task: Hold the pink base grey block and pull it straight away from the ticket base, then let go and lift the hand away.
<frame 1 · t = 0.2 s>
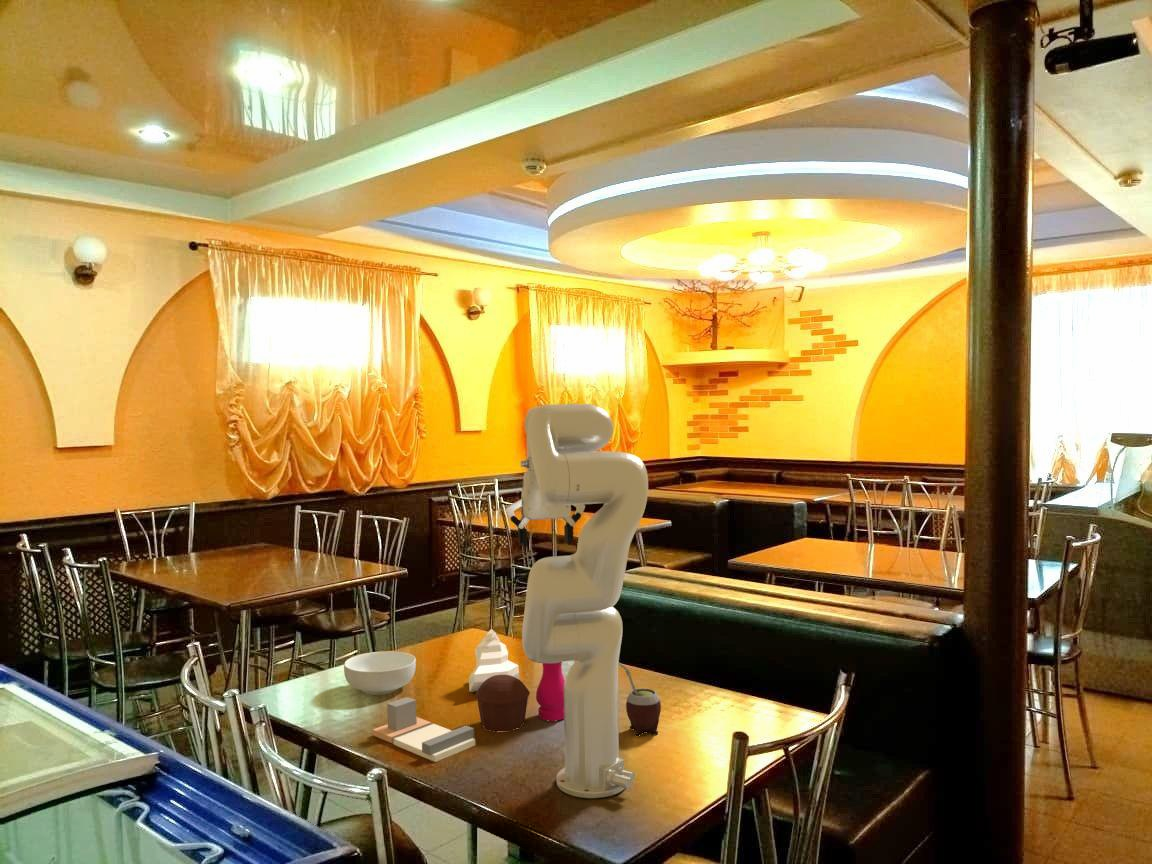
hand: (546, 545, 174), 37 cm above the table, tool pointing down, fingers open, 9 cm apart
mate gourd: (641, 733, 166), on the table
pink base grey block: (402, 716, 168), point 3 cm above the table, slide at 0.0 cm
ticket base: (433, 744, 161), on the table
soft serve ice cream: (490, 687, 195), on the table
pepper mill: (553, 717, 175), on the table
cereal bowl: (380, 690, 194), on the table
muffin: (503, 725, 171), on the table
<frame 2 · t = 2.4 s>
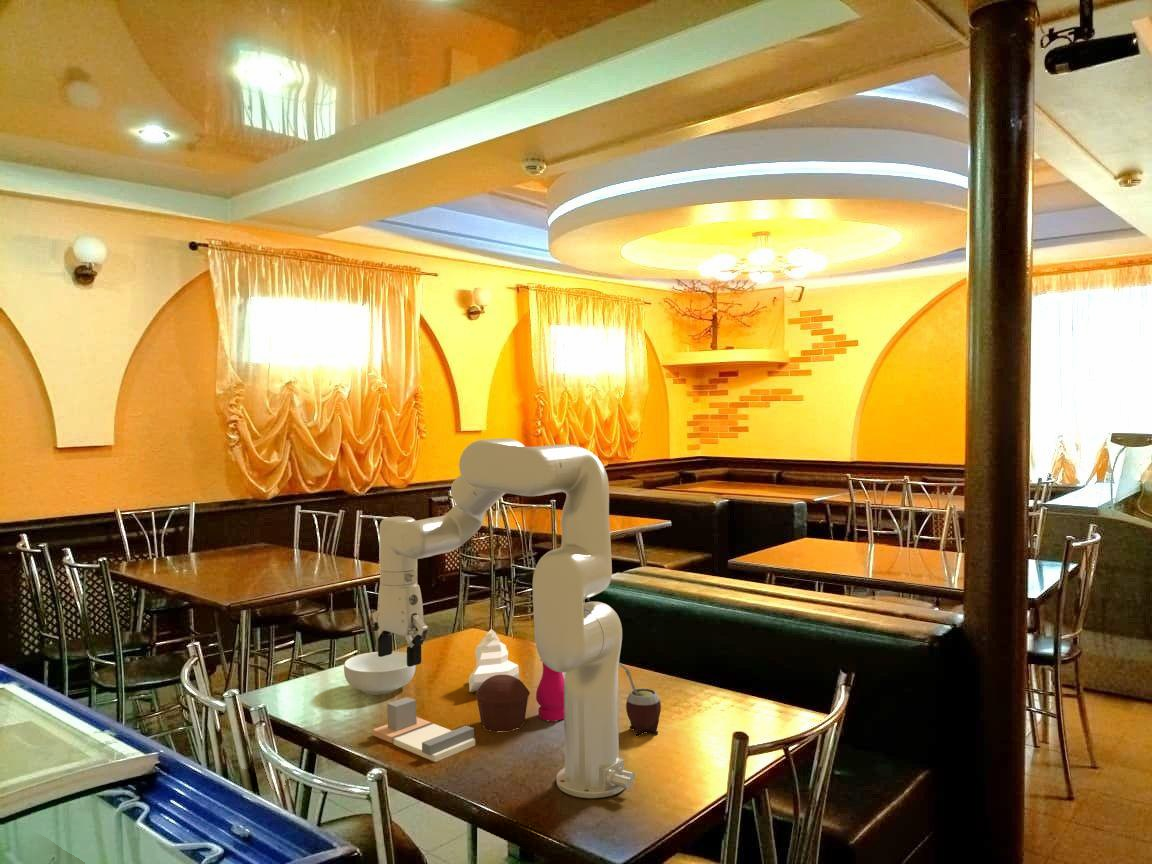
hand: (399, 660, 168), 15 cm above the table, tool pointing down, fingers open, 9 cm apart
nothing on the table moved.
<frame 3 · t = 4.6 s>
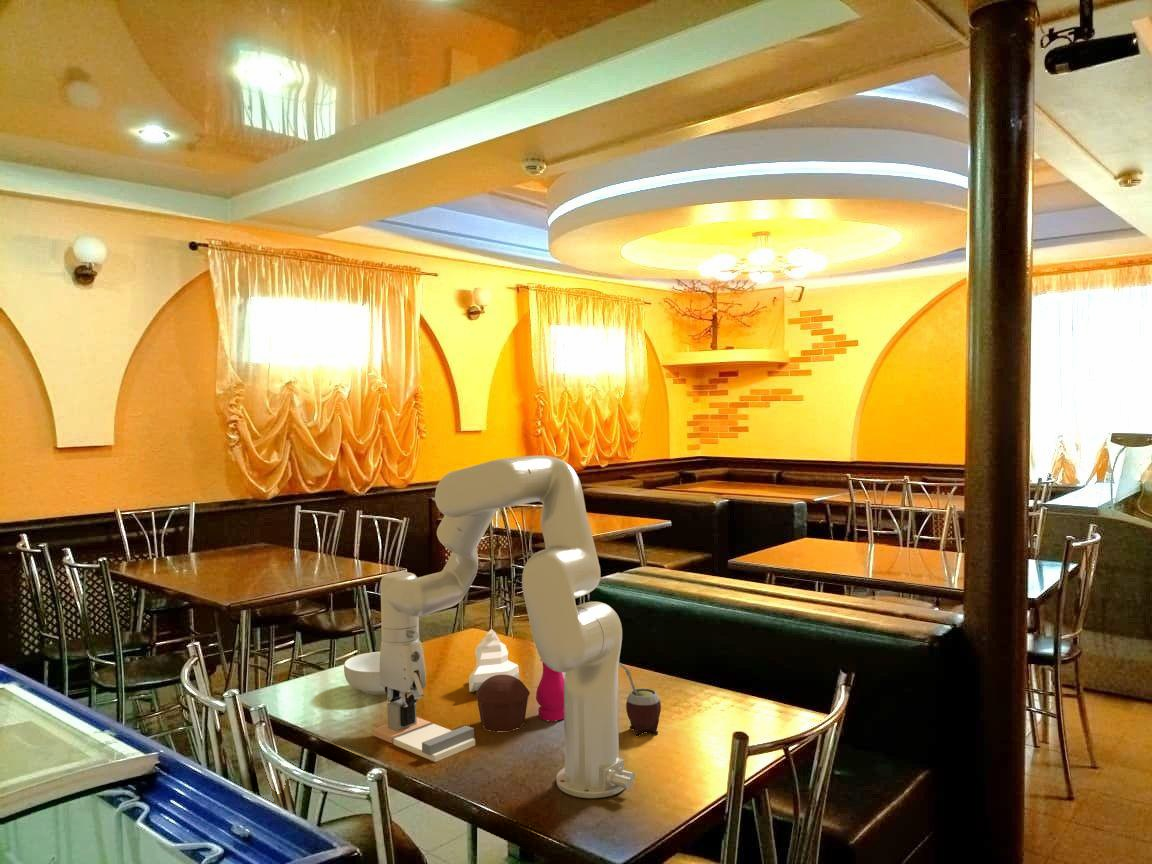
hand: (402, 721, 168), 2 cm above the table, tool pointing down, fingers closed on pink base grey block, 3 cm apart
pink base grey block: (402, 716, 168), point 3 cm above the table, slide at 0.0 cm, touching gripper
everything else where it was.
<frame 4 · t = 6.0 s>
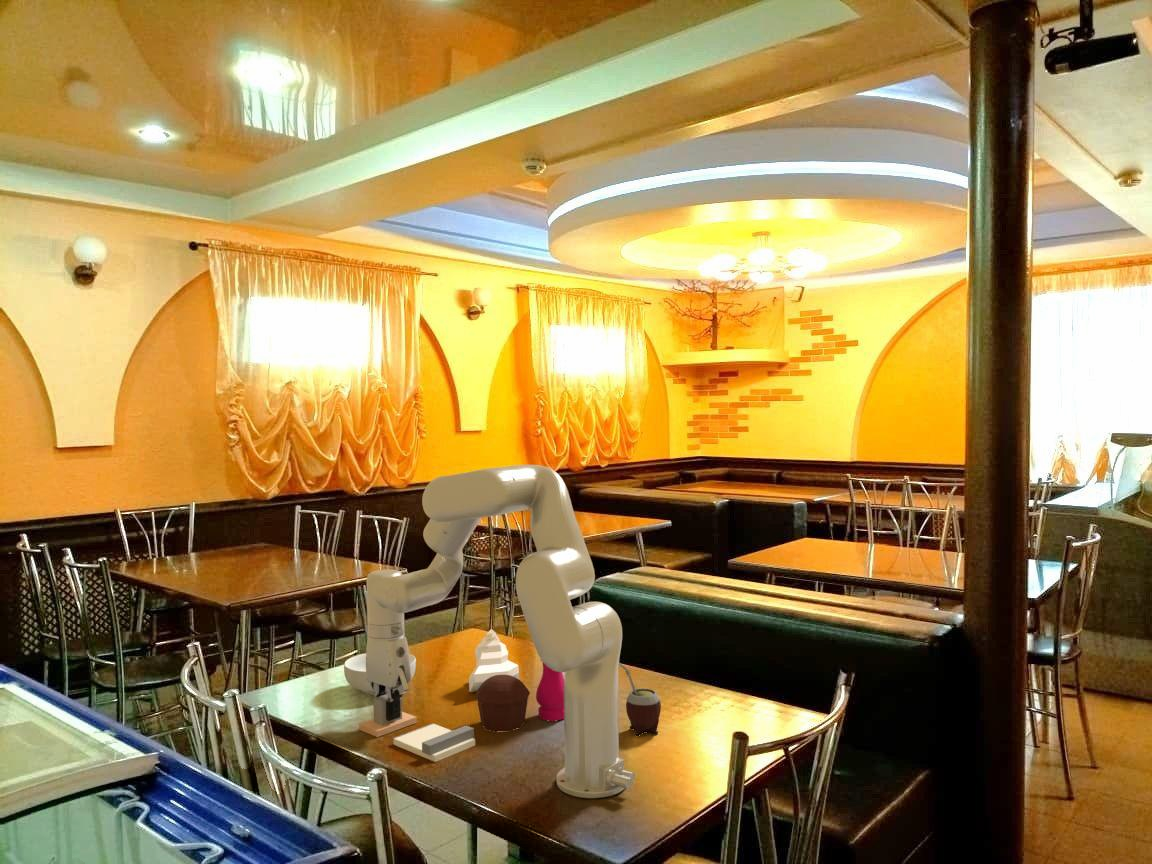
hand: (388, 716, 171), 2 cm above the table, tool pointing down, fingers closed on pink base grey block, 3 cm apart
pink base grey block: (387, 711, 171), point 3 cm above the table, slide at 4.9 cm, touching gripper
everything else where it was.
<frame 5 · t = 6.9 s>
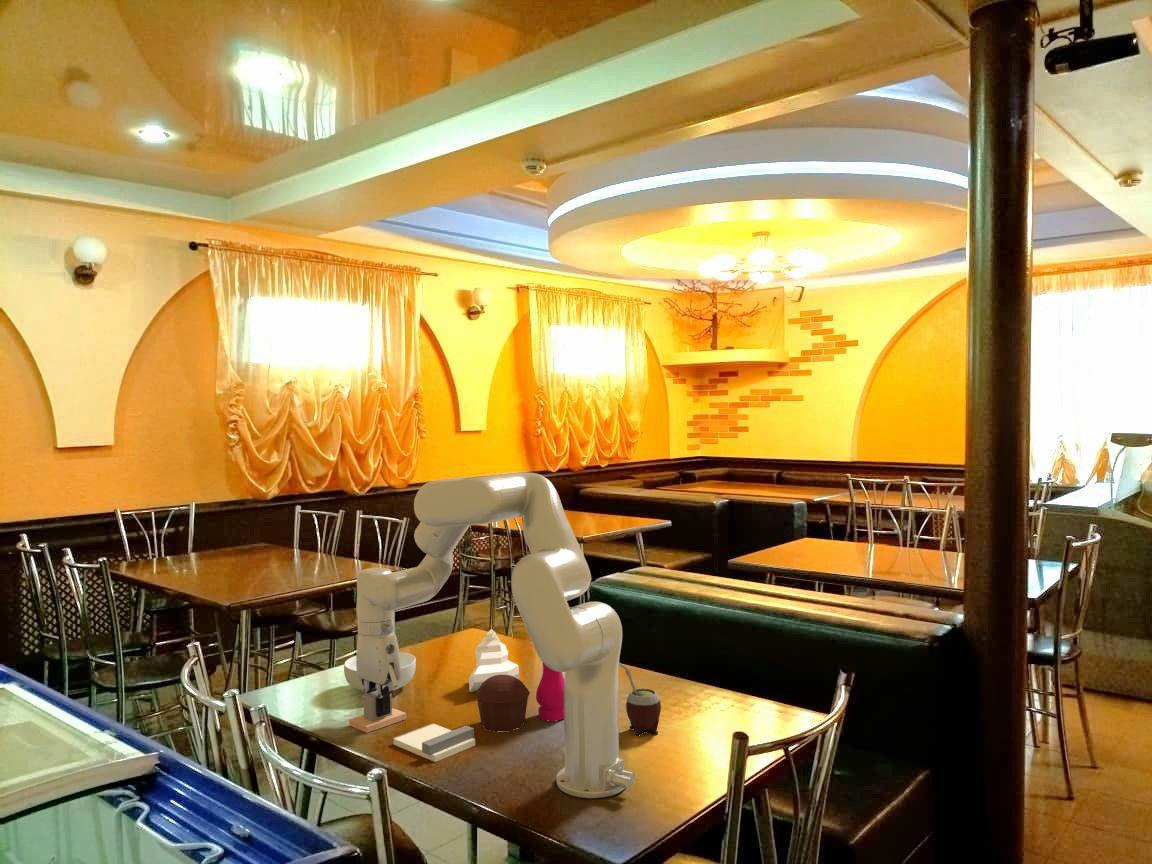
hand: (378, 712, 173), 2 cm above the table, tool pointing down, fingers closed on pink base grey block, 3 cm apart
pink base grey block: (377, 707, 173), point 3 cm above the table, slide at 8.4 cm, touching gripper
everything else where it was.
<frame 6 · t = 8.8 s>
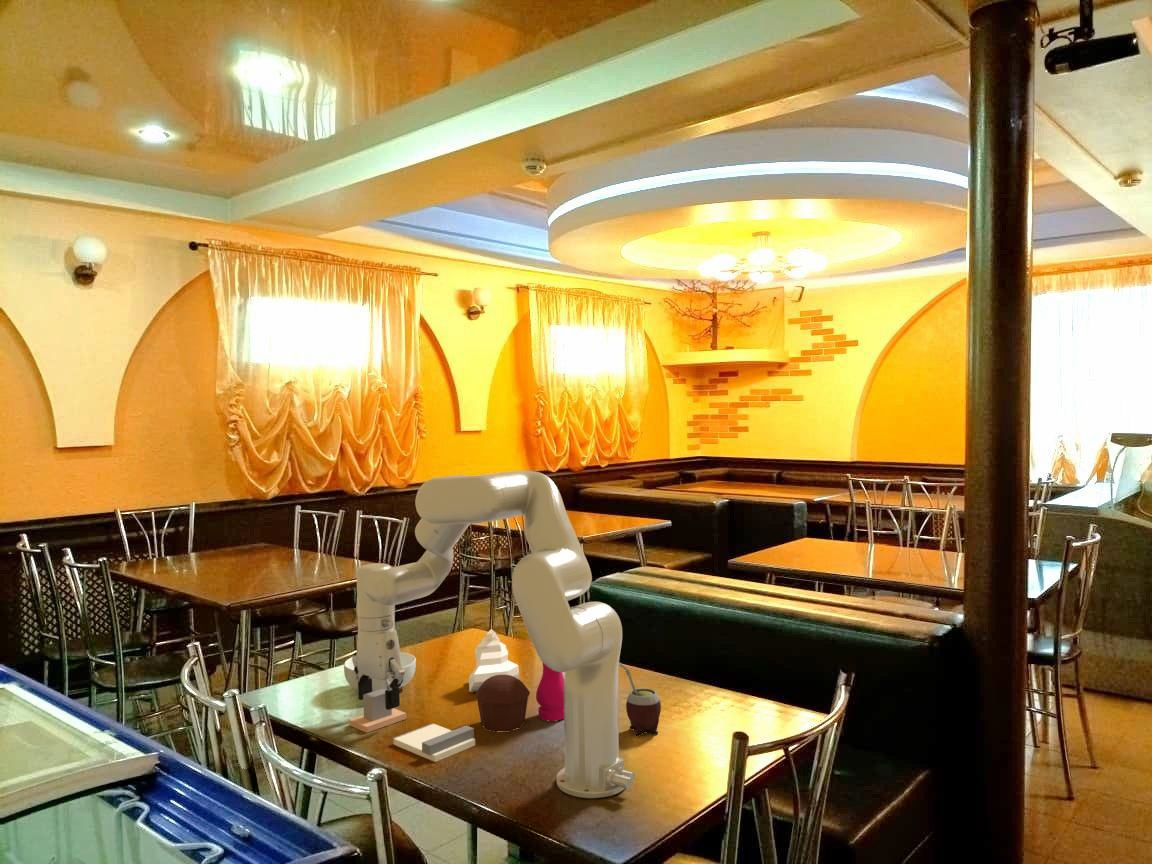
hand: (378, 703, 173), 4 cm above the table, tool pointing down, fingers open, 9 cm apart
pink base grey block: (377, 707, 173), point 3 cm above the table, slide at 8.5 cm
everything else where it was.
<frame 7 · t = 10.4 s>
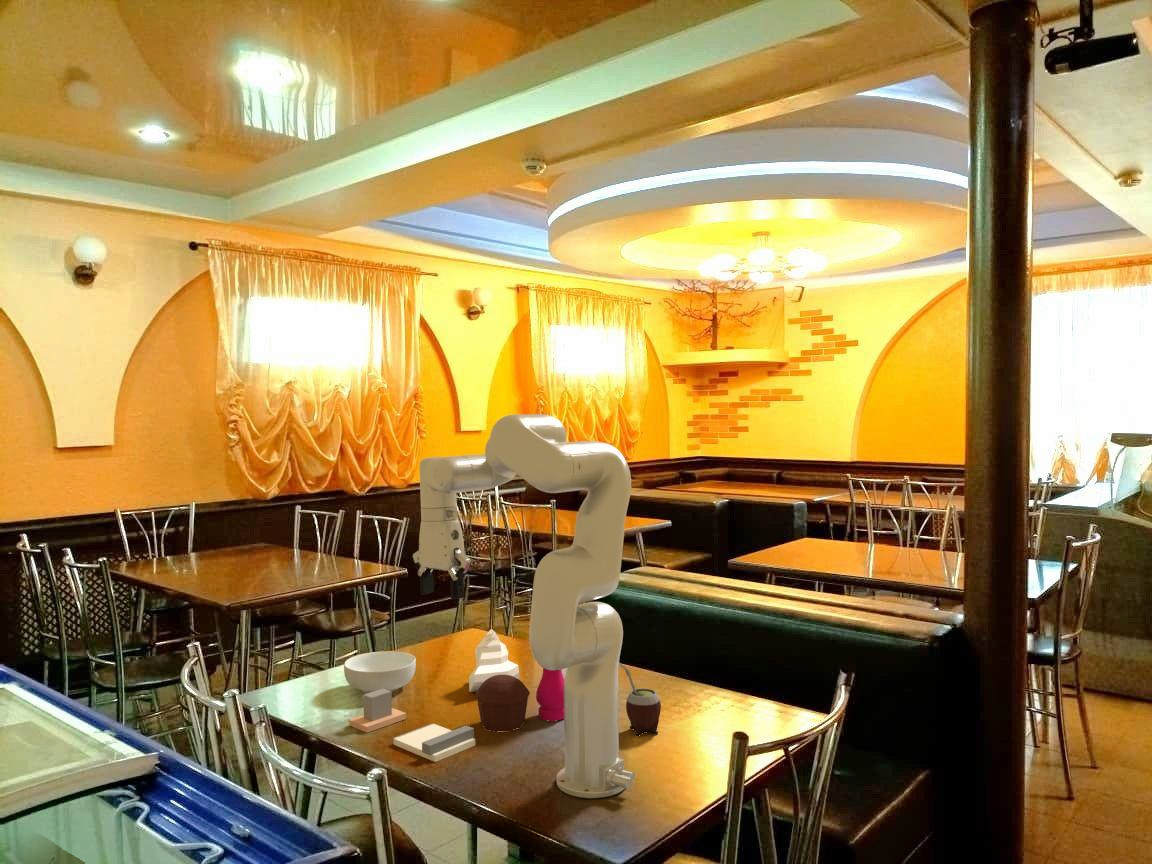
hand: (442, 596, 172), 27 cm above the table, tool pointing down, fingers open, 9 cm apart
nothing on the table moved.
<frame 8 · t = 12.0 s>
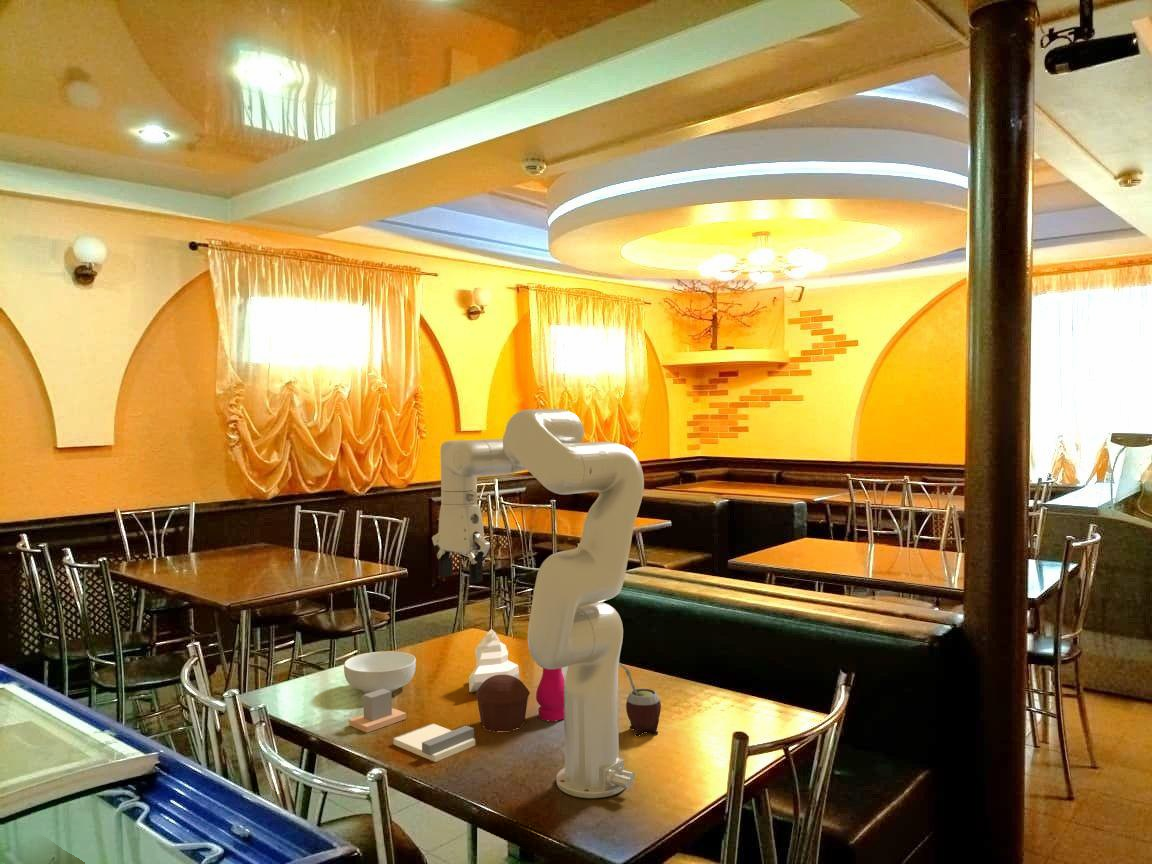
hand: (460, 579, 173), 30 cm above the table, tool pointing down, fingers open, 9 cm apart
nothing on the table moved.
at the end: pink base grey block slide at 8.5 cm; the gripper is holding nothing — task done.
